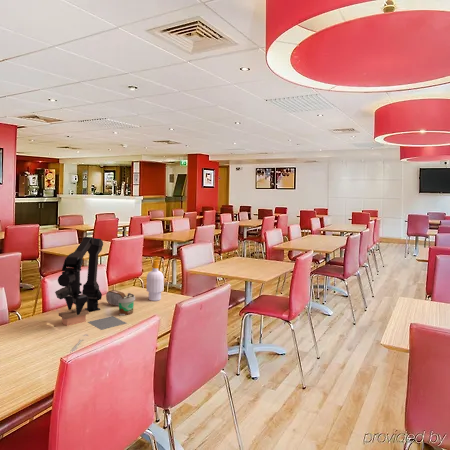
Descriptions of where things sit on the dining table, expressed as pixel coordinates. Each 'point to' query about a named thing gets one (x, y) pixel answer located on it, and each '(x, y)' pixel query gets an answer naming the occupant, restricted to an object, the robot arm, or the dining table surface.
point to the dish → (74, 320)
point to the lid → (72, 313)
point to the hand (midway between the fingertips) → (73, 312)
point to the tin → (114, 297)
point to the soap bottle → (155, 282)
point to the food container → (126, 304)
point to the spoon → (77, 344)
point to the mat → (107, 322)
